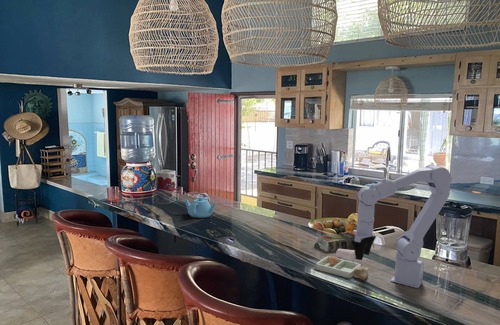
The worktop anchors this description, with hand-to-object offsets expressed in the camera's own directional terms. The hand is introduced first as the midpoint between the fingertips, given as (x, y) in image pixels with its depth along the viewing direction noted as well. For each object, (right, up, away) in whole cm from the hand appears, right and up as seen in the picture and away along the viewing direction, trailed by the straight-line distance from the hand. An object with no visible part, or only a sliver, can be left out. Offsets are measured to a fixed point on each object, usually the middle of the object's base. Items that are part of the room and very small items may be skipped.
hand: (362, 256), depth 143 cm
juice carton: (-1, -5, +36) cm, 36 cm away
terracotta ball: (-9, -6, +11) cm, 15 cm away
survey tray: (-7, -7, +7) cm, 13 cm away
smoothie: (-4, -3, +21) cm, 22 cm away
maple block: (0, -8, +1) cm, 8 cm away
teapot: (-71, +3, +86) cm, 111 cm away
